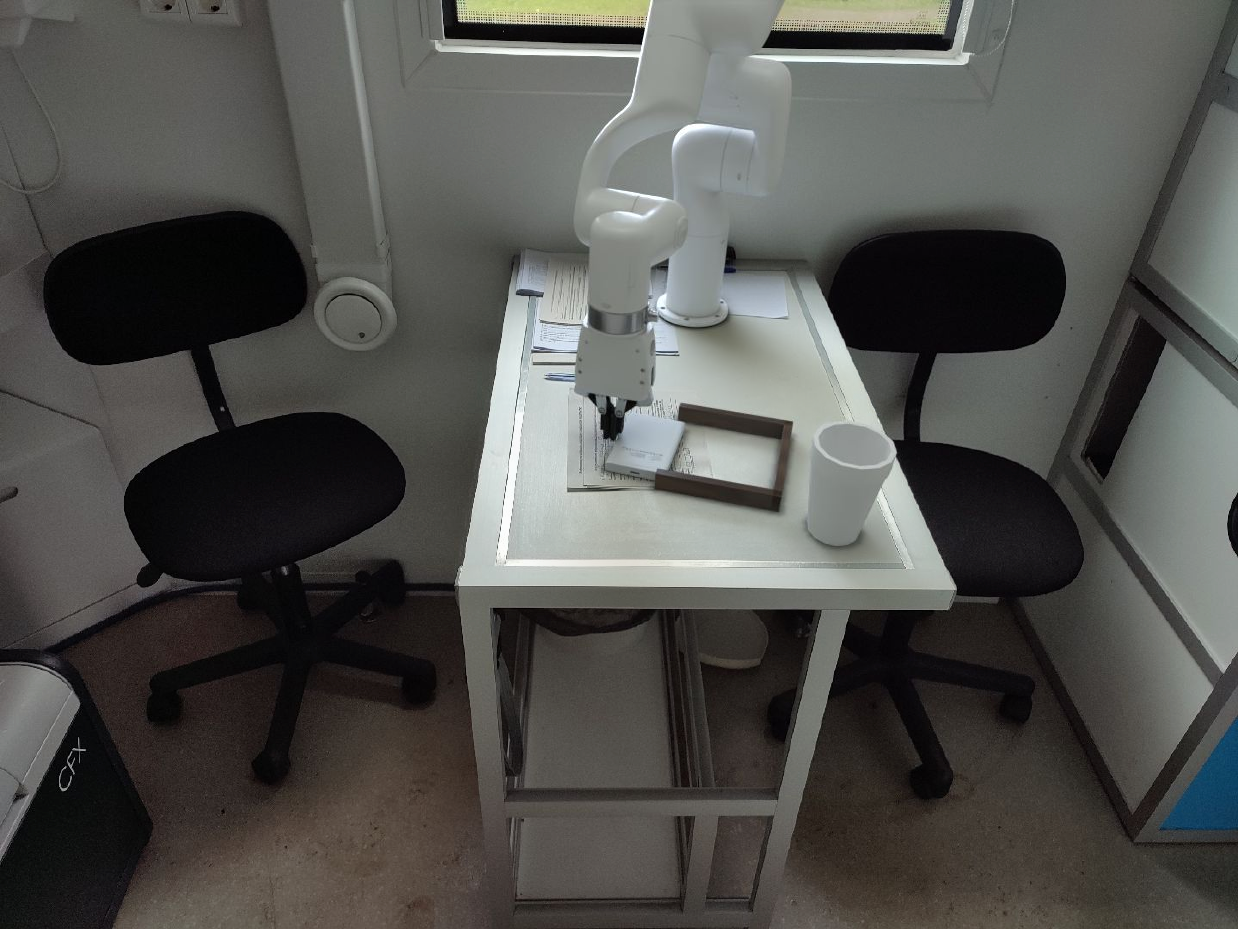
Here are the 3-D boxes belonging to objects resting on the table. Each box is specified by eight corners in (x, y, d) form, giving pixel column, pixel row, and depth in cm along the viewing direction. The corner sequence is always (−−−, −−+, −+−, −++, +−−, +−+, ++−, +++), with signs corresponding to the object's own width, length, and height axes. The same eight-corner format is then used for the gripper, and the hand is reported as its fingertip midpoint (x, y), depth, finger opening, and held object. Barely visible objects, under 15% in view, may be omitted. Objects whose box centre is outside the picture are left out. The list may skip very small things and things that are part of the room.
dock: (679, 416, 125) (680, 402, 123) (790, 435, 122) (793, 421, 121) (654, 488, 111) (655, 473, 110) (778, 512, 109) (781, 496, 107)
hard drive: (684, 431, 122) (664, 483, 112) (628, 420, 123) (604, 470, 114) (685, 422, 121) (665, 473, 111) (629, 411, 122) (604, 460, 113)
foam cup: (857, 565, 101) (882, 479, 94) (784, 537, 105) (802, 452, 97) (879, 520, 108) (905, 436, 100) (809, 495, 111) (828, 412, 104)
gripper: (681, 310, 109) (670, 430, 120) (569, 292, 111) (567, 411, 122) (669, 337, 103) (658, 460, 114) (551, 317, 106) (551, 439, 116)
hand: (611, 434), depth 118 cm, fingers closed
